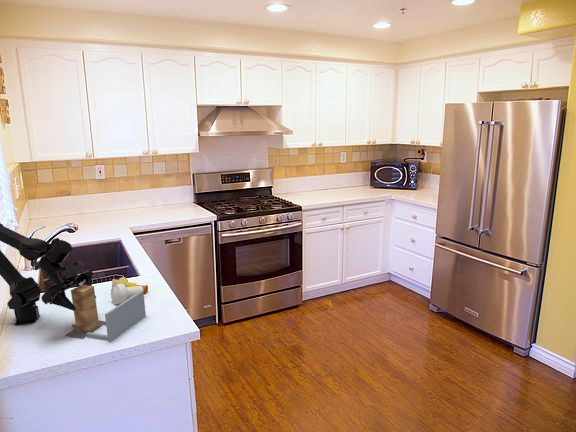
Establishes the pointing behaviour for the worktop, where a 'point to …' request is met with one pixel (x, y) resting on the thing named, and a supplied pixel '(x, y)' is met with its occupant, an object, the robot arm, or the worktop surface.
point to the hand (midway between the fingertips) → (85, 304)
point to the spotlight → (123, 292)
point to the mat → (82, 335)
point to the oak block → (85, 308)
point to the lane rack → (122, 317)
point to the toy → (128, 284)
